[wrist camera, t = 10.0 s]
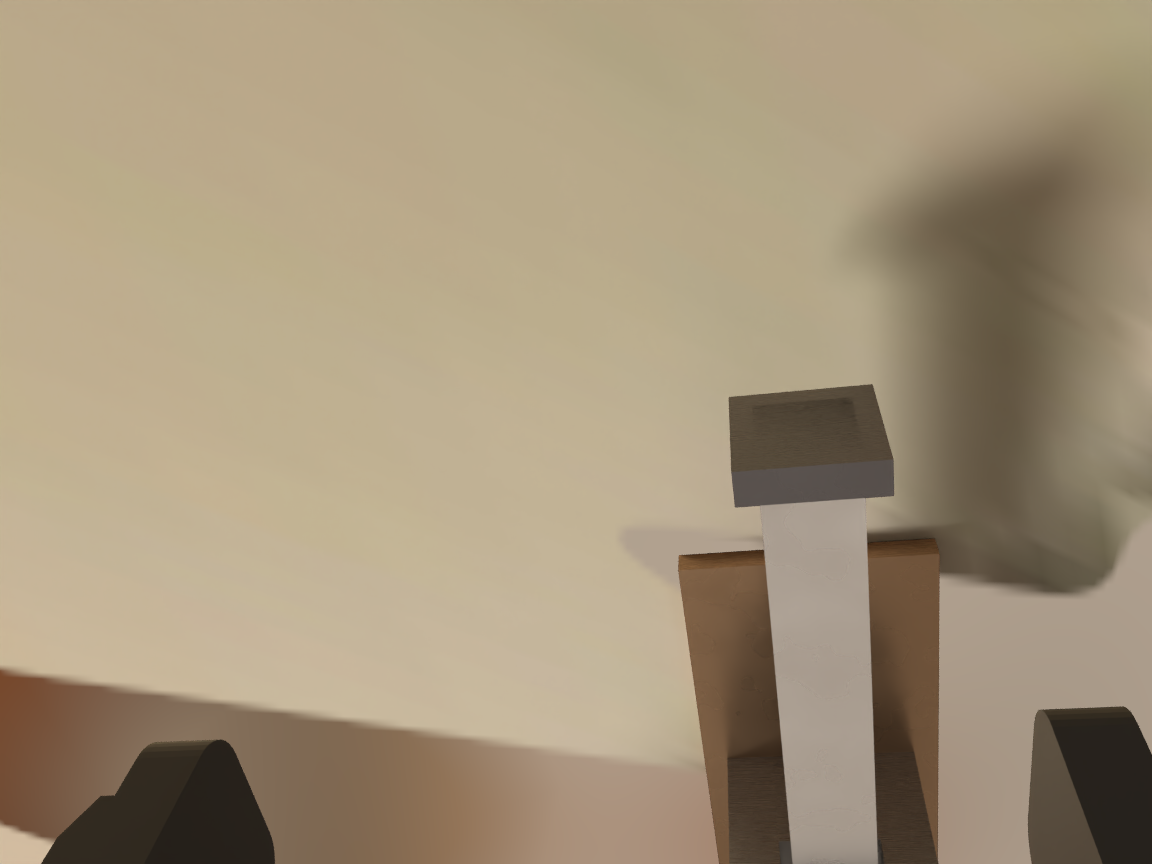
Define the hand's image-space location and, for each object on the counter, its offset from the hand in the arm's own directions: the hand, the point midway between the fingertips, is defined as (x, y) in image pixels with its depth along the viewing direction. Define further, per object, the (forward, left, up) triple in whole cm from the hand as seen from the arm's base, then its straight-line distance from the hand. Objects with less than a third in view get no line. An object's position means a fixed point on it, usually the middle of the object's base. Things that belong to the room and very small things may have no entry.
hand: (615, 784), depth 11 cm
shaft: (-3, +20, -23) cm, 31 cm away
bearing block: (-3, +31, -28) cm, 42 cm away
